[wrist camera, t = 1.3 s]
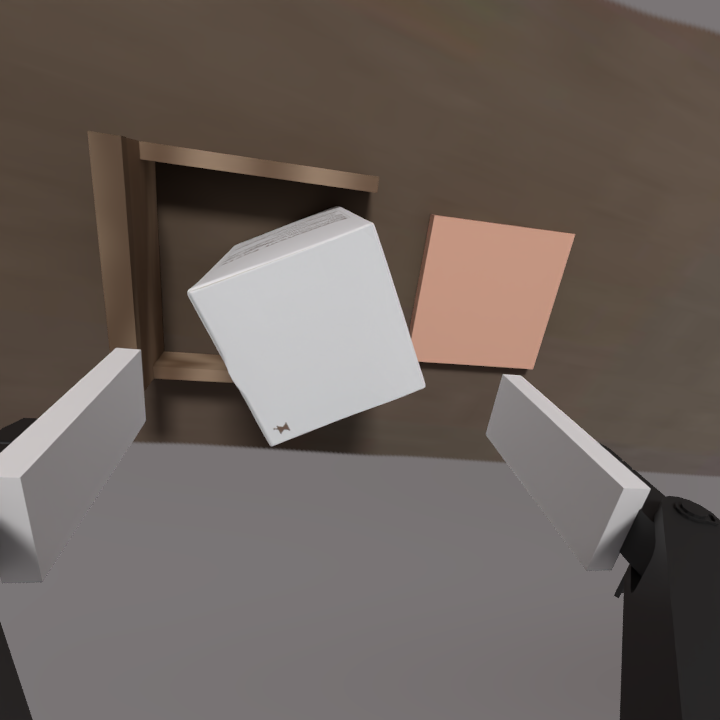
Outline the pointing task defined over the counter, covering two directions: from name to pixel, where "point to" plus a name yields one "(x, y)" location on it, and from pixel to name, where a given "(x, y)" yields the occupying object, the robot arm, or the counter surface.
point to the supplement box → (309, 323)
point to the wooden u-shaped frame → (141, 241)
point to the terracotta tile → (486, 292)
